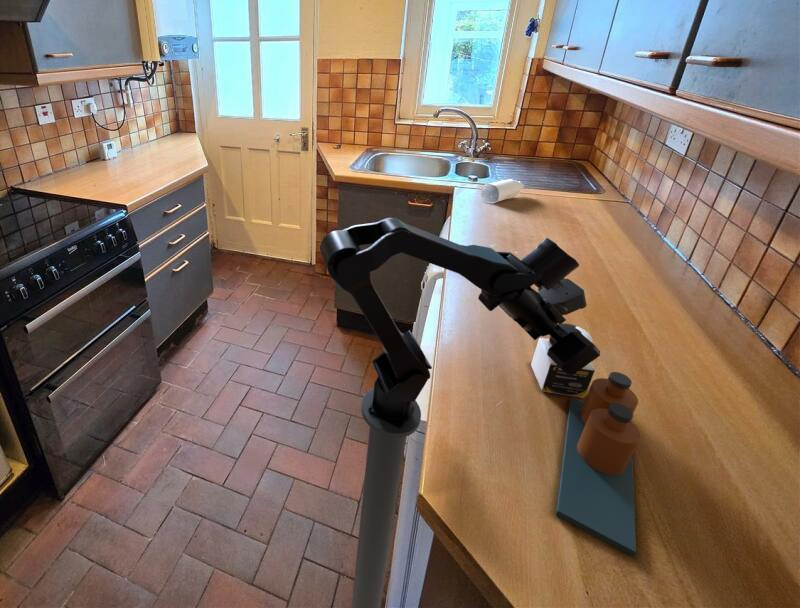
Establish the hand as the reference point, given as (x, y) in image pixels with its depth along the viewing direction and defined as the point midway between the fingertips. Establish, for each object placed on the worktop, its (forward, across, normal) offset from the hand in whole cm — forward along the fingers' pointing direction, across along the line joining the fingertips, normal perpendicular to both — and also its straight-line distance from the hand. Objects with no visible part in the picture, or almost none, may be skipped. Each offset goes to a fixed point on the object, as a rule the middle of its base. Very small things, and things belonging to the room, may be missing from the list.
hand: (564, 347), depth 74 cm
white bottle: (+39, +93, -27) cm, 105 cm away
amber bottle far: (+6, -10, +5) cm, 13 cm away
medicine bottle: (+6, 0, +6) cm, 8 cm away
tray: (+2, -16, +10) cm, 19 cm away
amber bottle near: (+2, -16, +8) cm, 18 cm away
